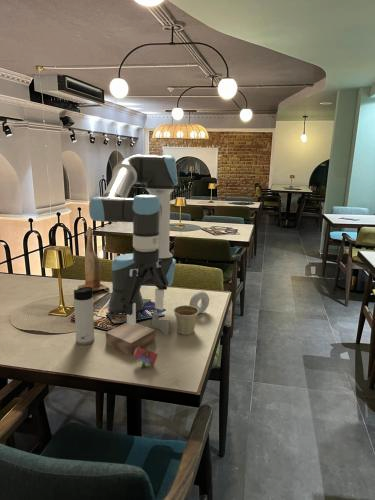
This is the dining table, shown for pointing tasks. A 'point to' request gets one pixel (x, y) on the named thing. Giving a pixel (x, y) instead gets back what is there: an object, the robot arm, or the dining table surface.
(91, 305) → the travel mug
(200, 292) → the donut
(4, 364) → the dining table surface
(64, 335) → the dining table surface
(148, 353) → the geometric puzzle
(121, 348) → the walnut block
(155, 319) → the grey tape dispenser
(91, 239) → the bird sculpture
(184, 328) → the flower pot
